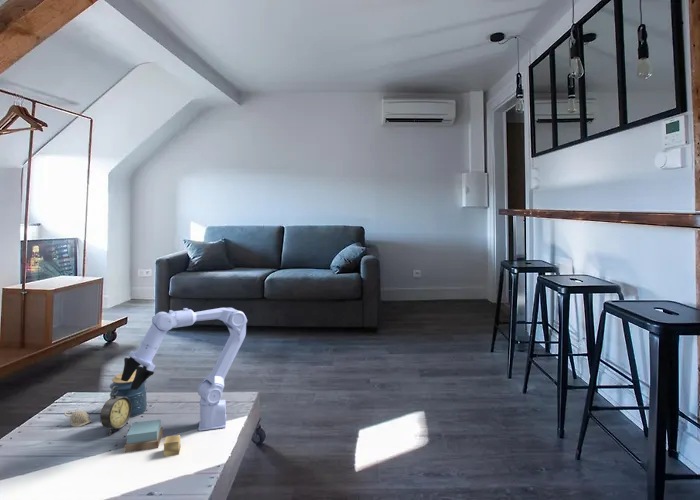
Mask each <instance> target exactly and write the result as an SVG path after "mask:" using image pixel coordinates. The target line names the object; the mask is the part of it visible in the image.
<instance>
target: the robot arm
mask: <svg viewBox="0 0 700 500" xmlns="http://www.w3.org/2000/svg"><path fill="white" fill-rule="evenodd" d="M210 320H212V321H213V320H219V321H222V322H223V323H224V324H225V325H226V327H227V329H228V331H229V337H228V339H227V341H226V343H225V345H224V347H223V348H222V351H221V353H220V355H219V356H218V358H217V360H216V363H215V365H214V367H213V368H212V371H211V372H210V373H209V374H207V375H206V376H205V378H204V380H203V381H202V382H200V383H199V385H198V386H197V395H198V396H199V397H200V399H199V424H198V431H199V432H201V431H208V430H215V429H217V430H218V429H223V428H226V427H227V426H226V424H227V423H226V422H227V419H228V415H227V414H226V413H227V408H226V406H227V405H226V404H227V403H226V401H227V400H226V399H222V397H223V390H224V388H225V378H226V376H227V374H228V372H229V371H230V368H231V366H232V364H233V361H234V360H235V358H236V356H237V354H238V352H239V350H240V348H241V347H242V344H243V342H244V340H245V337H246V336H247V335H246V334H247V323H248V319H247V316H246V315H245V313H244V312H243V311H242V310H237V309H235V308H234V307H219V308H217V307H216V308H213V309H212V308H211V309H206V310H201V311H200V310H199V311H195V312H194V310H192V309H189V308H188V307H183V309H182V310H172V309H169V310H168V312H166V311H159V312H157V313H156V314H155V315H152V318H151V325H150V327H149V329H148V330H147V332H146V333H145V336H144V337H143V338H142V341H141V343H140V345H139V346H138V349H137V350H136V351H133V350H131V351H130V353H129V355H128V357H124V364H123V365H124V366H123V370H122V372H123V374H122V377H121V380H122V381H128V380H129V379H130V377H131V376H132V374H133V373H134V371H136V374H135V378H134V380H133V382H132V385H131V389H135V390H137V389H138V388H139V387H140V386H141V385H142V383H143V382H144V381H145V380H146V381H147V379H149V377H151V376H153V375H155V371H154V370H155V368H156V365H155V364H154V363H153V359H154V357H155V355H156V354H157V352H158V350H159V348H160V346H161V344H162V342H163V341H164V339H165V336H166V334H167V333H168V331H170V330H172V329H174V328H175V329H176V328H182V327H189V326H192V325H194V323H196V322H201V321H210Z"/></svg>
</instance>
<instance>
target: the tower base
mask: <svg viewBox="0 0 700 500" xmlns="http://www.w3.org/2000/svg"><path fill="white" fill-rule="evenodd" d="M163 436H164V427H161V428H160V432H159V435H158V438H157V440H153V441H146V442H139V443H132V444H127V441H126V443H125V444H124V453H125V454H126V453H134V452H139V451H147V450H155V449H156V450H157V449H159V447H160V443H161V440H162V437H163Z"/></svg>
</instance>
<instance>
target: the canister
mask: <svg viewBox="0 0 700 500" xmlns="http://www.w3.org/2000/svg"><path fill="white" fill-rule="evenodd" d="M122 374H123V371H122V372H120V373H118V374H116V375H115V376H114V377H112V379H111V383H110V384H109V389H110V390H112V388H113V387H114V386H117V387H118V392H117V387H114V388H113V390H112V394H116V392H117V394H116V397H127V398H128V399H129V400H130V401H131V405H132V412H131V416H130V418H133V417H134V418H135V417H136V416H139V415H142V414H143V413H144V412H145V411H147V407H148V402H147V389H148V388H147V387H146V383H147V379H146V380H145V381H144V382H143V383H142V385H141V386H140V387H139V388H138V389H137V390H135V389H131V385H132V382H133V380H134V378H135V374H136V370H135V371H134V373H133V374H132V376H131V377H130V379H129V380H128V381H122V380H121V377H122ZM112 394H111V392H110V393H109V397H110V398H112V397H114V396H113V395H112ZM110 398H109V399H110Z"/></svg>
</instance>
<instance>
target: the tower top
mask: <svg viewBox="0 0 700 500" xmlns="http://www.w3.org/2000/svg"><path fill="white" fill-rule="evenodd" d="M161 420H162V419H160V418H159V419H153V420H145V421H138V422H132V423H131V425H130V428H129V430H128V432H127V434H126V442H127V444H132V443H139V442H146V441H153V440H157V438H158V435H159V432H160V428H161V426H162V425H161V423H162V422H161Z"/></svg>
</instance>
